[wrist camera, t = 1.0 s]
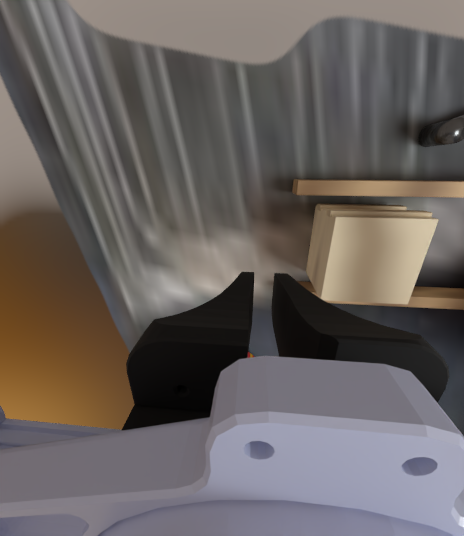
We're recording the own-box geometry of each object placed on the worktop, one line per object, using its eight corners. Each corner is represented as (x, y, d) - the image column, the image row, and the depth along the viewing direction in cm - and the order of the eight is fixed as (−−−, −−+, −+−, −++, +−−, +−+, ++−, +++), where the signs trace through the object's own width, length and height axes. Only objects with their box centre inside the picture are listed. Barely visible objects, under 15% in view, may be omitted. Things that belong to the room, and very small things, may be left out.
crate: (394, 203, 18) (442, 215, 14) (374, 274, 21) (409, 304, 16) (314, 202, 19) (334, 212, 14) (304, 271, 21) (319, 300, 16)
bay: (543, 181, 17) (600, 183, 14) (482, 299, 21) (517, 318, 18) (293, 179, 18) (300, 181, 15) (282, 289, 22) (286, 307, 19)
